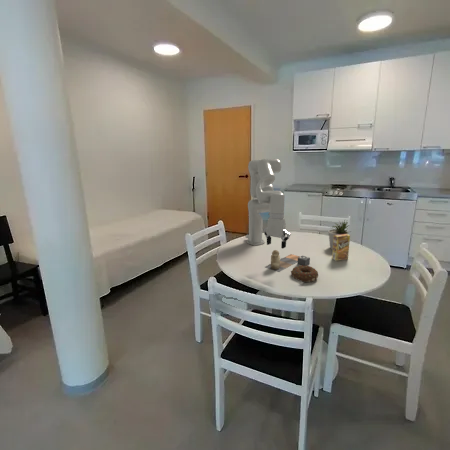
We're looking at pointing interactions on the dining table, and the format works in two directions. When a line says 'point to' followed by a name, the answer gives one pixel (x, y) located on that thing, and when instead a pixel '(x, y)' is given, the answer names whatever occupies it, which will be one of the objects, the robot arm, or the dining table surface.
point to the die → (303, 260)
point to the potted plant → (337, 232)
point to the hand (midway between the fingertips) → (276, 246)
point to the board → (285, 262)
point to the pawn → (275, 260)
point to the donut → (304, 273)
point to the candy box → (340, 247)
